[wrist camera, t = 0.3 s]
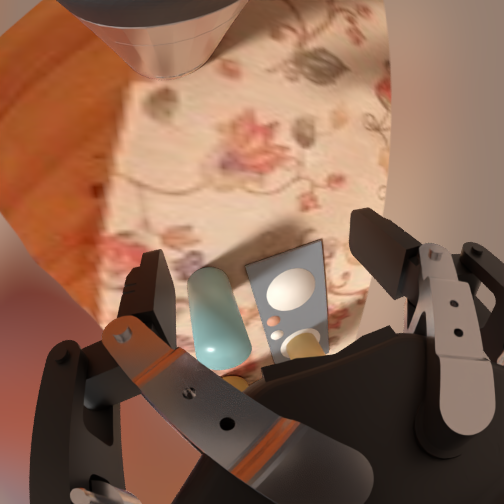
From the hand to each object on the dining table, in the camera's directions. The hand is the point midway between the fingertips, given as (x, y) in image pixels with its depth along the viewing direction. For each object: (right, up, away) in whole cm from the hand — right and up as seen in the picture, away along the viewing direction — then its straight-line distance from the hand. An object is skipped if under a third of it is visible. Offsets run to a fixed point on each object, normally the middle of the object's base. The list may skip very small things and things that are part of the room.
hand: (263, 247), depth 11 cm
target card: (+6, -10, +29) cm, 31 cm away
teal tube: (-6, -4, +22) cm, 23 cm away
